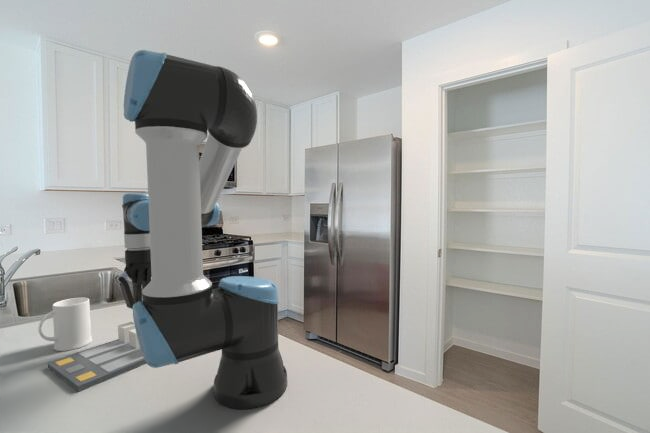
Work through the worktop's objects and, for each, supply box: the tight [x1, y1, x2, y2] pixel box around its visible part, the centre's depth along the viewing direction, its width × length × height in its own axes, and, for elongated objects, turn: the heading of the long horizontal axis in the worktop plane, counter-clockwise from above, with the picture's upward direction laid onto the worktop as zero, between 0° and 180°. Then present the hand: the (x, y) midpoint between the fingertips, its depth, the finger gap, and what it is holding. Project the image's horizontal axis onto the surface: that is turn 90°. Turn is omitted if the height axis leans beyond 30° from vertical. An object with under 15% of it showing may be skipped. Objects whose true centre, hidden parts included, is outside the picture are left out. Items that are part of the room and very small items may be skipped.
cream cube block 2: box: [129, 329, 140, 348], centre depth 88 cm, size 4×4×4 cm
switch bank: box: [46, 338, 147, 392], centre depth 83 cm, size 18×22×1 cm
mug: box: [38, 297, 93, 352], centre depth 90 cm, size 12×8×12 cm
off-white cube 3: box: [117, 321, 135, 343], centre depth 91 cm, size 4×4×4 cm
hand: (143, 329), depth 95 cm, fingers closed
